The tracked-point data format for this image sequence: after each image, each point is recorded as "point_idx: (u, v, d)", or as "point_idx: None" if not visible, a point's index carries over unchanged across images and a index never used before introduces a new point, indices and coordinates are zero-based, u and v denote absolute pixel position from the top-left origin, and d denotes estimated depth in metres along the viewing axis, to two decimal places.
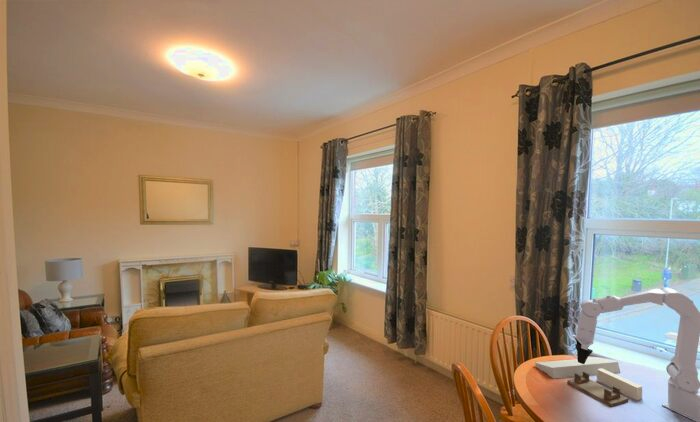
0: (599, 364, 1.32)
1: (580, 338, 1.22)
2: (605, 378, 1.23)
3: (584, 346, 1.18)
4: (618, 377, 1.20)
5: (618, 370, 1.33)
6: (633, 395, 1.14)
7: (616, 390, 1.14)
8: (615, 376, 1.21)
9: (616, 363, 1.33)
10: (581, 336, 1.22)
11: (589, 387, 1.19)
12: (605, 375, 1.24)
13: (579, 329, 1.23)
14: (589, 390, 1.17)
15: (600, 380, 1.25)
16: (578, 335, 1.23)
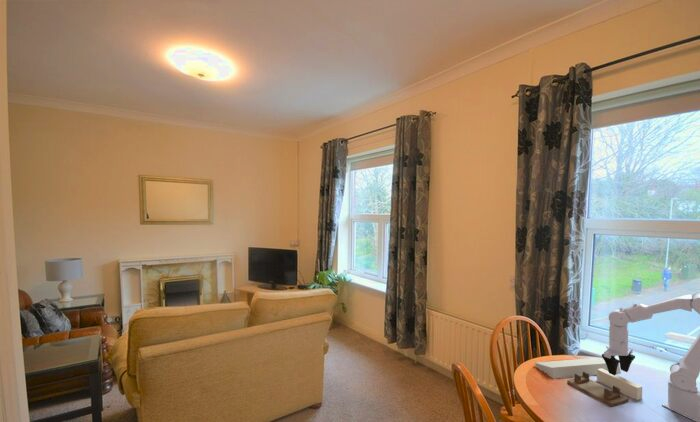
0: (599, 364, 1.32)
1: (610, 348, 1.21)
2: (605, 378, 1.23)
3: (606, 354, 1.18)
4: (618, 377, 1.20)
5: (618, 370, 1.32)
6: (633, 395, 1.14)
7: (616, 390, 1.14)
8: (615, 376, 1.21)
9: None
10: (610, 346, 1.21)
11: (589, 387, 1.19)
12: (605, 375, 1.24)
13: (609, 339, 1.22)
14: (589, 390, 1.17)
15: (600, 380, 1.25)
16: (609, 345, 1.22)
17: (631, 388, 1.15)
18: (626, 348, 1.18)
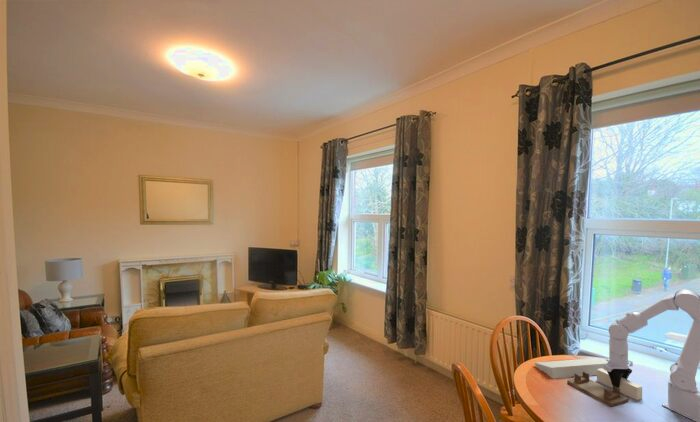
0: (599, 364, 1.32)
1: (610, 361, 1.21)
2: (605, 378, 1.23)
3: (606, 367, 1.18)
4: None
5: None
6: (633, 395, 1.14)
7: (616, 390, 1.14)
8: None
9: None
10: (610, 359, 1.21)
11: (589, 387, 1.19)
12: (605, 375, 1.24)
13: (609, 352, 1.22)
14: (589, 390, 1.17)
15: (599, 380, 1.25)
16: (609, 358, 1.22)
17: (631, 388, 1.15)
18: (626, 361, 1.18)
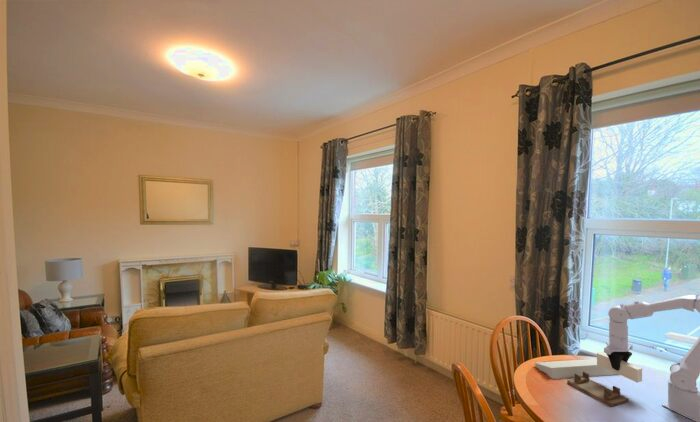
0: None
1: (610, 344, 1.21)
2: (605, 361, 1.23)
3: (606, 350, 1.18)
4: None
5: None
6: (633, 377, 1.14)
7: (616, 390, 1.14)
8: None
9: None
10: (610, 342, 1.21)
11: (589, 387, 1.19)
12: (605, 358, 1.24)
13: (609, 335, 1.22)
14: (589, 390, 1.17)
15: (599, 363, 1.25)
16: (609, 342, 1.22)
17: (631, 370, 1.15)
18: (626, 344, 1.18)
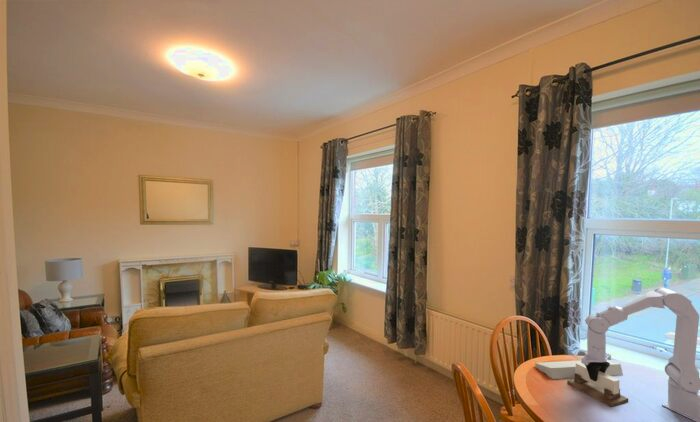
0: None
1: (588, 355, 1.19)
2: (584, 372, 1.21)
3: (583, 361, 1.16)
4: None
5: (621, 372, 1.31)
6: (610, 389, 1.12)
7: None
8: None
9: (619, 365, 1.32)
10: (588, 352, 1.19)
11: (589, 387, 1.19)
12: (583, 368, 1.22)
13: (587, 345, 1.20)
14: (589, 390, 1.17)
15: (578, 374, 1.23)
16: (587, 352, 1.20)
17: (608, 382, 1.13)
18: (603, 354, 1.16)
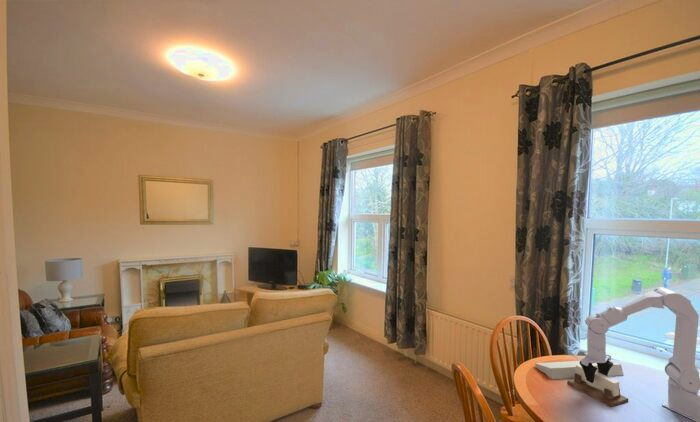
0: None
1: (588, 355, 1.19)
2: (584, 374, 1.21)
3: (583, 361, 1.16)
4: (596, 373, 1.18)
5: (621, 373, 1.30)
6: None
7: None
8: None
9: (619, 365, 1.31)
10: (588, 353, 1.19)
11: (589, 387, 1.19)
12: (583, 370, 1.22)
13: (587, 346, 1.20)
14: (589, 390, 1.17)
15: None
16: (587, 352, 1.20)
17: (608, 384, 1.13)
18: (604, 355, 1.16)
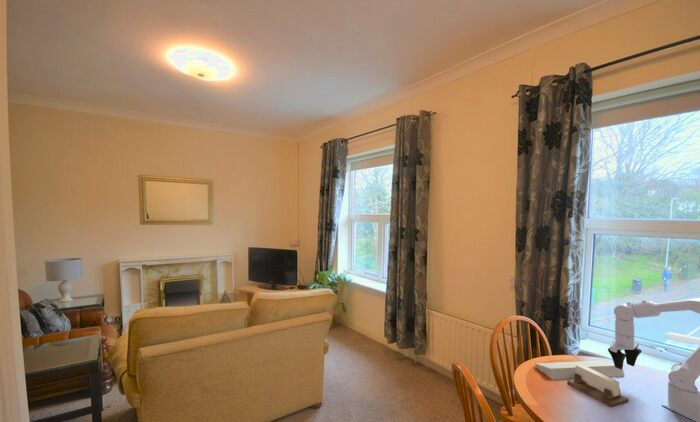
0: (601, 367, 1.30)
1: (616, 342, 1.21)
2: (584, 374, 1.21)
3: (612, 348, 1.18)
4: (596, 373, 1.18)
5: (622, 374, 1.30)
6: None
7: None
8: (593, 372, 1.19)
9: None
10: (616, 340, 1.20)
11: (589, 387, 1.19)
12: (583, 370, 1.22)
13: (615, 333, 1.22)
14: (589, 390, 1.17)
15: None
16: (615, 340, 1.22)
17: (608, 384, 1.13)
18: (632, 342, 1.17)
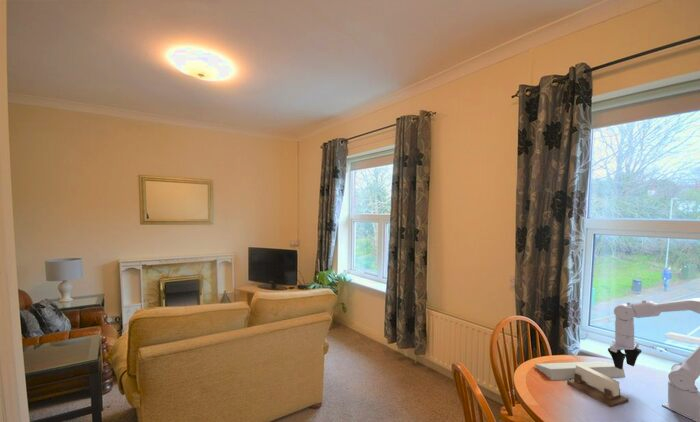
0: (602, 367, 1.29)
1: (616, 342, 1.21)
2: (584, 374, 1.21)
3: (612, 348, 1.18)
4: (596, 373, 1.18)
5: (623, 374, 1.29)
6: None
7: None
8: (593, 372, 1.19)
9: None
10: (616, 340, 1.20)
11: (589, 387, 1.19)
12: (583, 370, 1.22)
13: (615, 333, 1.22)
14: (589, 390, 1.17)
15: None
16: (615, 340, 1.22)
17: (608, 384, 1.13)
18: (632, 342, 1.17)
